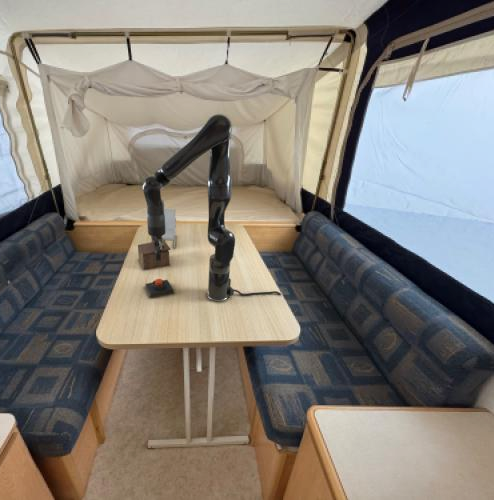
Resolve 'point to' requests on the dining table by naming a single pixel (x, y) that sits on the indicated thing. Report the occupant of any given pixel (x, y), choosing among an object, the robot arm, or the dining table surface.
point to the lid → (151, 247)
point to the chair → (170, 225)
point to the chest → (153, 260)
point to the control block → (158, 289)
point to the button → (158, 282)
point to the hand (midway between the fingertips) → (158, 259)
